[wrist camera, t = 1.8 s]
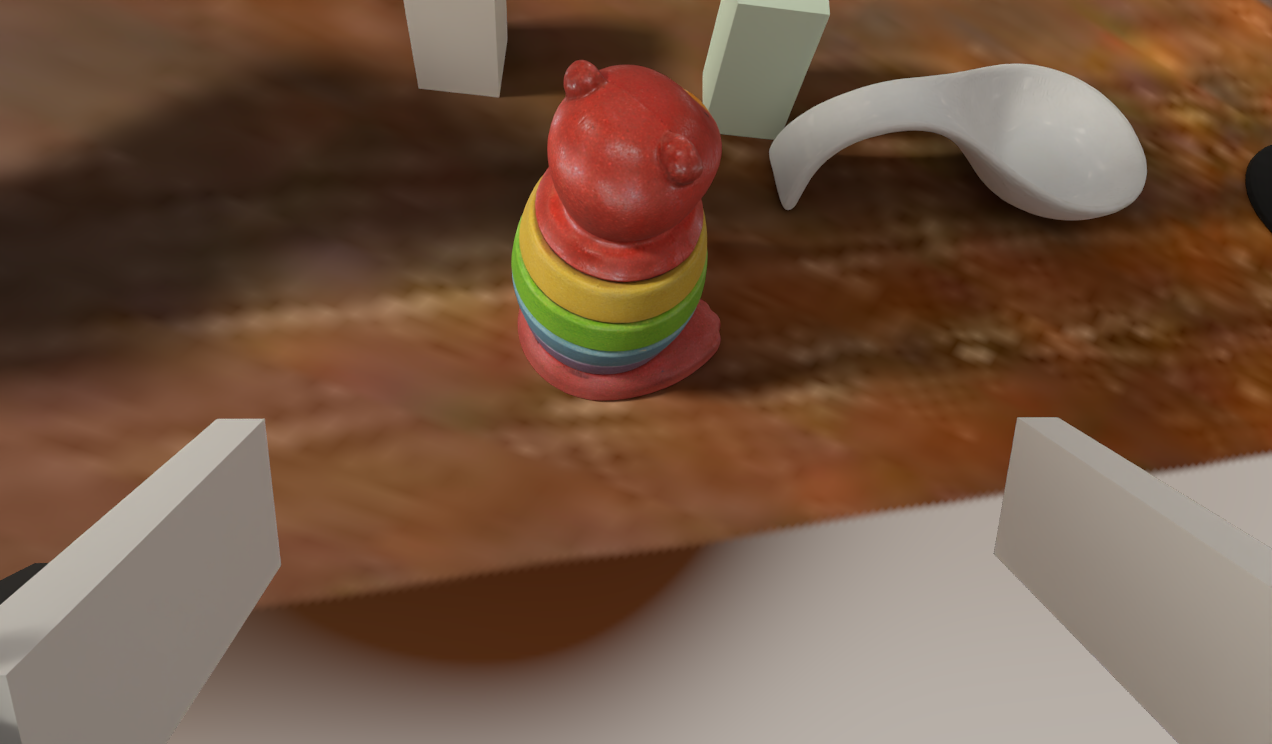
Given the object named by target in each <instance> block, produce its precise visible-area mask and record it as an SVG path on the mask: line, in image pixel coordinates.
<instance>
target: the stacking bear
mask: <svg viewBox="0 0 1272 744" xmlns="http://www.w3.org/2000/svg"><path fill="white" fill-rule="evenodd" d="M563 84H564V89H565V92H566V97H565V98H564V100H563V101H562V102H561V104H560V105H559V107H558V108H557V110H556V112H555V115H554V117H553V120H552V123H551V127H550V131H549V136H548V147H547V151H548V163H549V167H548V169H547V170H546V172H545V173H544V175H543V176H542V177H541V178H540V180H539V181H538V182H537V184H536V186H535V187H534V189H533V191H532V193H531V195H530V197H529V199H528V201H527V204H526V206H525V209H524V212H523V214H522V216H521V218H520V221H519V224H518V227H517V231H516V235H515V239H514V244H513V250H512V279H513V285H514V290H515V293H516V297H517V300H518V303H519V306H520V309H519V315H518V334H519V339H520V343H521V346H522V349H523V352H524V354H525V356H526V357H527V359H528V361H529V362H530V364H531V365H532V367H533V368H534V369H535V370H536V371H537V373H538V374H539V375H540V376H541V377H542V378H544V379H545V380H546V381H547V382H549V383H550V384H551V385H553V386H554V387H556V388H558V389H560V390H561V391H563V392H565V393H567V394H570V395H573V396H576V397H580V398H584V399H589V400H602V401H603V400H619V399H627V398H633V397H637V396H642V395H646V394H649V393H653V392H656V391H658V390H661V389H664V388H666V387H669V386H671V385H673V384H675V383H677V382H679V381H681V380H683V379H684V378H686V377H688V376H689V375H691V374H692V373H694V372H695V371H696V370H698V369H699V368H700V367H701V366H703V365H704V364H705V363H706V362H707V361H708V360H709V359H710V358H711V357H712V356H713V355H714V354H715V353H716V351H717V350H718V348H719V345H720V342H721V337H720V333H719V331H720V326H721V324H720V319H719V317H718V316H717V314H716V313H714V312H713V311H712V310H711V309H710V307H709V305H708V304H707V303H706V302H705V301H703V300H702V299H700V298H701V295H702V291H703V288H704V283H705V278H706V271H707V258H708V252H707V228H706V220H705V215H704V211H703V204H702V200H701V198H702V197H703V196H704V195H705V193H706V192H707V190H708V188H709V187H710V185H711V183H712V181H713V179H714V177H715V175H716V172H717V170H718V168H719V164H720V160H721V154H722V142H721V136H720V132H719V129H718V126H717V124H716V122H715V120H714V119H713V117H712V116H711V114H710V112H709V111H708V109H707V108H706V107H705V105H704V104H703V103H702V102H701V101H700V100H699V99H698V98H697V97H695V96H694V95H693V94H692V93H690V92H688V91H687V90H685V89H683V88H682V87H681V86H679V85H678V84H677V83H675V82H674V81H673V80H671V79H670V78H668V77H667V76H665V75H663V74H661V73H659V72H657V71H655V70H652V69H650V68H647V67H643V66H638V65H615V66H610V67H607V68H603V69H601V70H598V69H597V68H596V66H594V65H593V64H592V63H590V62H588V61H585V60H577V61H575V62H574V63H572V64H571V65H570V66H569V67H568V69H567V71H566V73H565V76H564V83H563Z"/></svg>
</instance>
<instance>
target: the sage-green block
mask: <svg viewBox="0 0 1272 744" xmlns="http://www.w3.org/2000/svg"><path fill="white" fill-rule="evenodd" d="M829 16H830V11H829V0H721V3H720V7H719V11H718V15H717V19H716V23H715V27H714V31H713V35H712V39H711V43H710V47H709V51H708V55H707V59H706V63H705V67H704V71H703V104H704V105H705V107H706V108H707V109H708V111H709V112H710V114H711V116H712V117H713V119H714V120H715V122H716V124H717V126H718V129H719V132H720V134H725V135H734V136H743V137H753V138H762V139H771V140H775V138H776V137H777V135H778V134H779V133H780V132H781V131H782V130H783V129H784V127H785V125H786V122H787V120H788V117H789V115H790V112H791V110H792V107H793V105H794V102H795V100H796V97H797V95H798V92H799V90H800V88H801V85H802V83H803V80H804V78H805V75H806V73H807V70H808V68H809V65H810V63H811V60H812V58H813V55H814V53H815V50H816V48H817V45H818V43H819V40H820V38H821V36H822V33H823V31H824V28H825V26H826V23H827V21H828V18H829Z"/></svg>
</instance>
